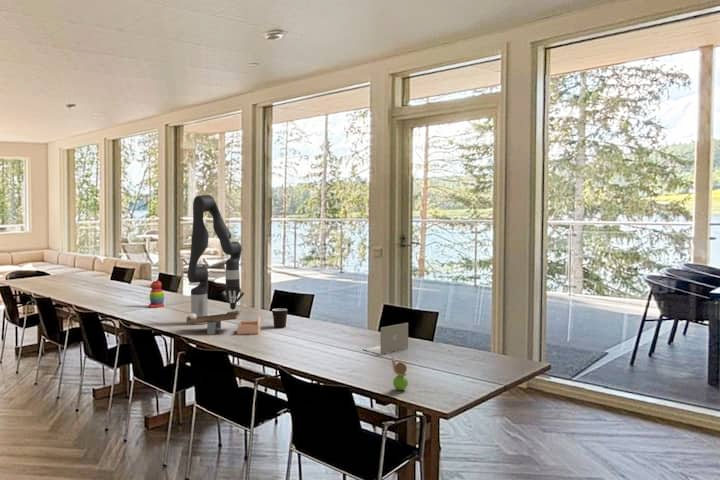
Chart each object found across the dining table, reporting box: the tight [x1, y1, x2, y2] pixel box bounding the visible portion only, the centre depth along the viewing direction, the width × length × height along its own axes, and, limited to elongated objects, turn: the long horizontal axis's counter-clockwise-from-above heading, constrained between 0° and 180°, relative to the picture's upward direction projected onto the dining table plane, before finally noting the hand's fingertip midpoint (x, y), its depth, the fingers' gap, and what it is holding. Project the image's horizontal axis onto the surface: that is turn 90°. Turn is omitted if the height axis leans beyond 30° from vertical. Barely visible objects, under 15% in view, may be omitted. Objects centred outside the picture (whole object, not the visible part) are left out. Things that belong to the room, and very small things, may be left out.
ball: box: [188, 313, 197, 320], centre depth 311 cm, size 4×4×4 cm
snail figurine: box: [391, 356, 409, 391], centre depth 214 cm, size 5×6×12 cm
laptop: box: [364, 322, 409, 355], centre depth 275 cm, size 18×12×13 cm
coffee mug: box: [271, 307, 288, 329], centre depth 328 cm, size 12×9×10 cm
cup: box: [236, 315, 262, 335], centre depth 313 cm, size 11×11×8 cm
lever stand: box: [206, 321, 222, 336], centre depth 316 cm, size 17×4×6 cm, turn 3°
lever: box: [185, 310, 241, 326], centre depth 315 cm, size 14×26×5 cm, turn 93°
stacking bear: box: [148, 279, 165, 309], centre depth 395 cm, size 11×10×18 cm
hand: (232, 309), depth 320 cm, fingers closed
